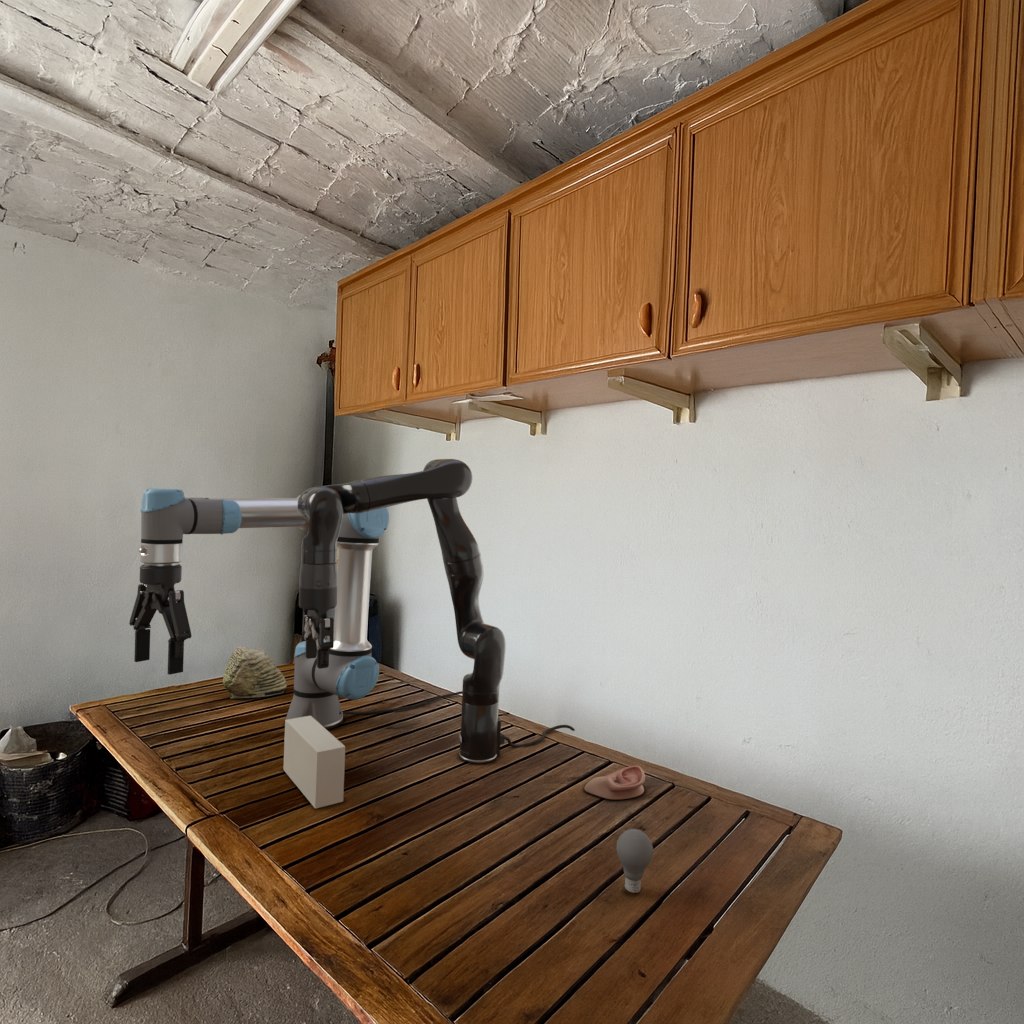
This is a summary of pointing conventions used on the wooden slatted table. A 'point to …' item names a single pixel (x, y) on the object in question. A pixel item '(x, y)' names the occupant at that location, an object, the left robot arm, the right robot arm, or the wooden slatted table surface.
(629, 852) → the light bulb
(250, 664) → the fossil
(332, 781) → the box
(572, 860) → the wooden slatted table surface
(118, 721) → the wooden slatted table surface
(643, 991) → the wooden slatted table surface
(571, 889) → the wooden slatted table surface
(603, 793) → the anatomical model
